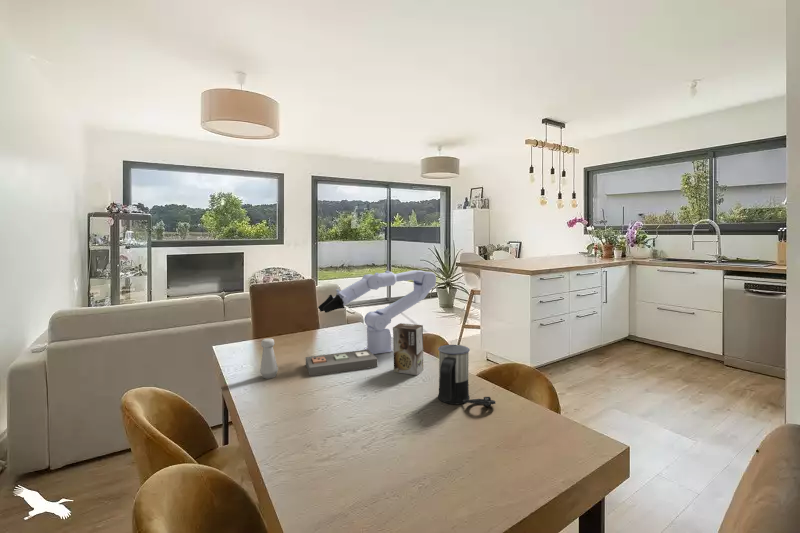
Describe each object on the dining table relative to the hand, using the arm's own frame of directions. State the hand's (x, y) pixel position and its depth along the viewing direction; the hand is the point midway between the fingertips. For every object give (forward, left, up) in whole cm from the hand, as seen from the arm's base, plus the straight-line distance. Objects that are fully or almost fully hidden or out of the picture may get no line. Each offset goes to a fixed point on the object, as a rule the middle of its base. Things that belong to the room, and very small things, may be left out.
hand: (321, 309), depth 146 cm
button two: (-5, +9, -18) cm, 21 cm away
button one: (-13, +9, -18) cm, 24 cm away
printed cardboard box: (-26, +23, -20) cm, 40 cm away
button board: (-5, +9, -20) cm, 22 cm away
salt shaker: (+20, +10, -20) cm, 30 cm away
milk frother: (-32, +52, -20) cm, 64 cm away
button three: (+3, +9, -18) cm, 21 cm away
